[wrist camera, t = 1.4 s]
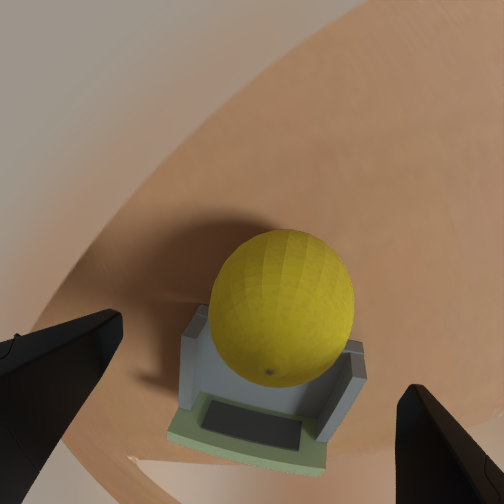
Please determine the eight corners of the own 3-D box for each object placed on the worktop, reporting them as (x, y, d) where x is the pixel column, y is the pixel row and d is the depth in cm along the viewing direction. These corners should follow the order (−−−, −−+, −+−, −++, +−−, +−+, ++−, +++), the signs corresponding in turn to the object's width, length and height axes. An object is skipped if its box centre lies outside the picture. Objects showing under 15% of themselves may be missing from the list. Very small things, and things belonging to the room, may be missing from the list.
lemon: (287, 327, 17) (264, 444, 10) (216, 257, 16) (144, 351, 9) (367, 268, 15) (401, 379, 8) (294, 186, 14) (273, 241, 7)
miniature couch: (192, 388, 20) (167, 440, 16) (200, 303, 18) (165, 358, 13) (322, 419, 19) (318, 476, 15) (362, 342, 17) (371, 406, 12)
